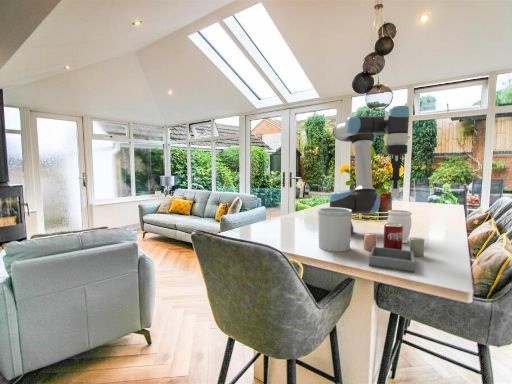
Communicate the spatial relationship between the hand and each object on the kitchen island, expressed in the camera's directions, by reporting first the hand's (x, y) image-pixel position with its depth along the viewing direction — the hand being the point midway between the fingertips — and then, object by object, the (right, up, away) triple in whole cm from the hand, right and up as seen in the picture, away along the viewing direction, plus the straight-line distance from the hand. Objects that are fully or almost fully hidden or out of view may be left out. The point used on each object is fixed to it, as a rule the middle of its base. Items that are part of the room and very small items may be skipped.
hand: (395, 195), depth 117 cm
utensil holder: (-23, -24, +10) cm, 35 cm away
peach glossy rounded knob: (-8, -24, +6) cm, 26 cm away
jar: (+12, -23, +21) cm, 33 cm away
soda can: (0, -25, +2) cm, 25 cm away
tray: (-7, -26, -11) cm, 29 cm away
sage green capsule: (+8, -25, -2) cm, 26 cm away
